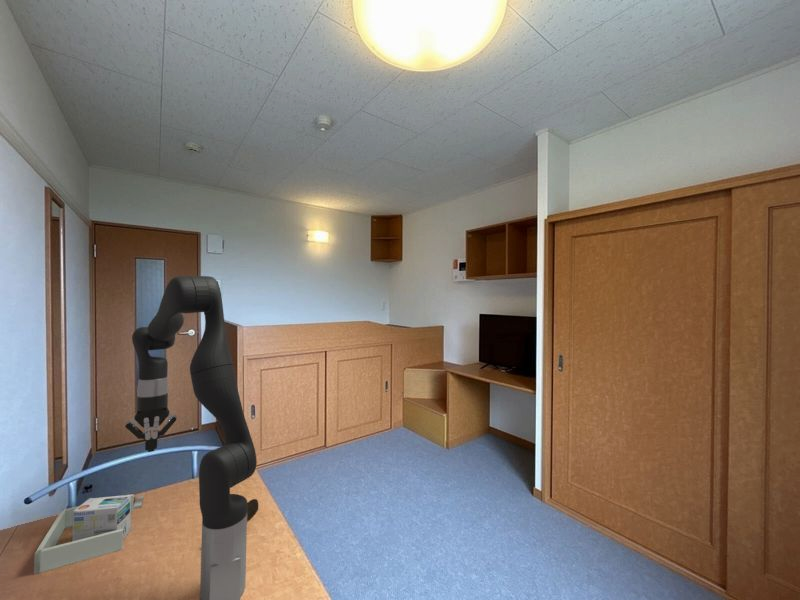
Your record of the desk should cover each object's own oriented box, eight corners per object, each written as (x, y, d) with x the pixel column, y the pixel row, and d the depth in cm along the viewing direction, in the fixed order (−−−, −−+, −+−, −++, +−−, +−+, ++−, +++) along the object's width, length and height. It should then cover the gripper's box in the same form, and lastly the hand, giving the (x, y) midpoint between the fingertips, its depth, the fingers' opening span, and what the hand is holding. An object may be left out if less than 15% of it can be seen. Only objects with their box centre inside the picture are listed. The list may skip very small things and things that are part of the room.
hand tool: (213, 553, 89) (214, 535, 89) (202, 549, 91) (203, 531, 91) (264, 512, 107) (265, 498, 107) (254, 509, 108) (255, 495, 109)
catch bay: (121, 549, 90) (122, 530, 90) (33, 574, 81) (34, 553, 81) (133, 510, 107) (133, 494, 107) (61, 527, 98) (62, 509, 98)
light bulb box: (131, 531, 97) (132, 493, 97) (117, 547, 90) (118, 506, 91) (87, 535, 95) (89, 497, 95) (70, 552, 88) (71, 511, 88)
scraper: (141, 507, 108) (141, 501, 108) (82, 521, 101) (83, 515, 101) (143, 498, 113) (143, 492, 113) (88, 510, 106) (88, 504, 106)
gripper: (122, 398, 95) (120, 460, 94) (178, 392, 102) (177, 450, 101) (126, 392, 101) (125, 450, 101) (179, 387, 108) (178, 442, 108)
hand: (151, 450), depth 101 cm, fingers closed
